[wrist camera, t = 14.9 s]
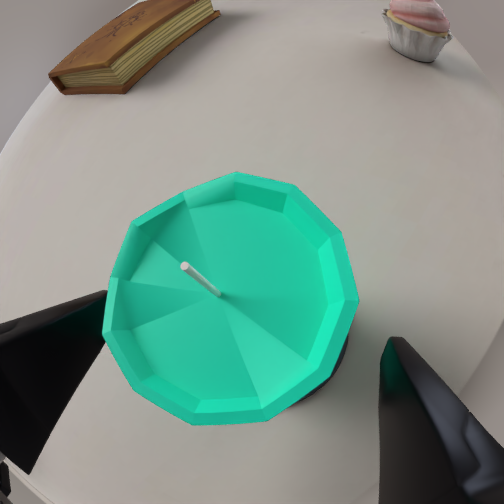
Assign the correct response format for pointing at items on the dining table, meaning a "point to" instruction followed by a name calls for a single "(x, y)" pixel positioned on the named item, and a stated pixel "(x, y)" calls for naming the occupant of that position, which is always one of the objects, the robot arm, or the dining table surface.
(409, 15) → the cupcake
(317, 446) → the dining table surface
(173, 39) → the diary
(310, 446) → the dining table surface
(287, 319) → the candle
